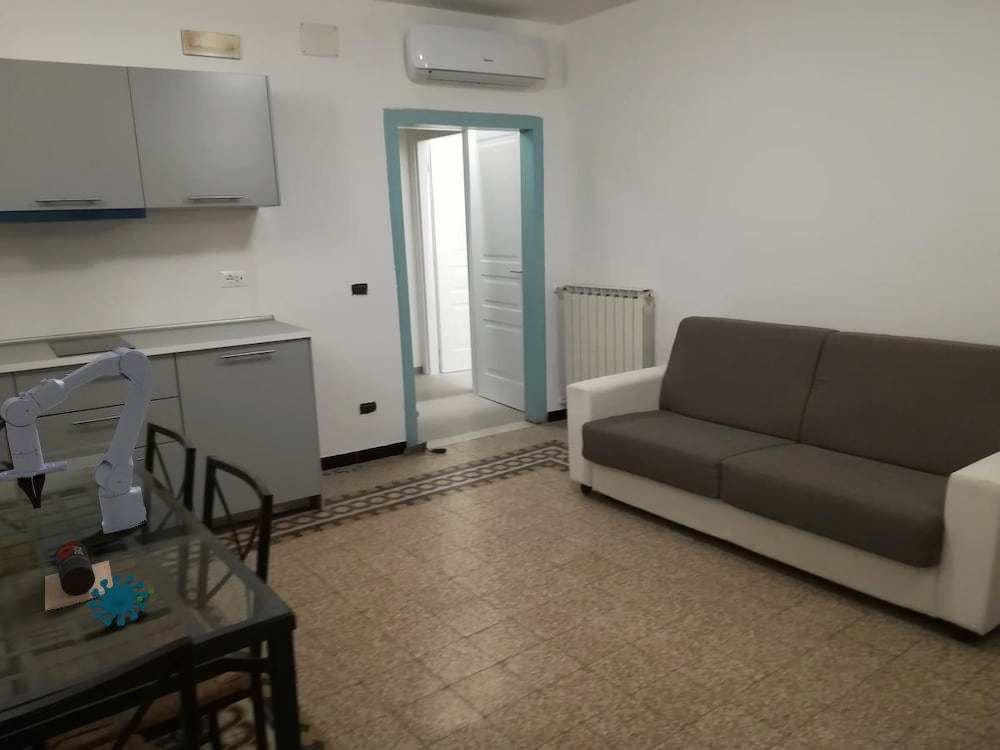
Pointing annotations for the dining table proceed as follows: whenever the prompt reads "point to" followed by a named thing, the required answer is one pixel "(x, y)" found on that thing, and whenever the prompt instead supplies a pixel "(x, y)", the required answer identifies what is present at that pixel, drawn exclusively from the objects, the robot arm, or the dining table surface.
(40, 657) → the dining table surface
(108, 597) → the blue virus model
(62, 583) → the deodorant
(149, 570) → the dining table surface
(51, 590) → the pink flat board
